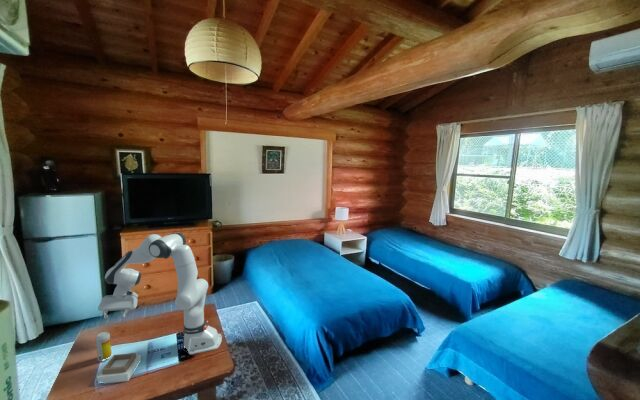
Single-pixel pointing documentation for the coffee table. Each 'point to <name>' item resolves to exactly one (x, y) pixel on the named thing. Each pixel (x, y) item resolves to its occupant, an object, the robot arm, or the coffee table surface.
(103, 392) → the coffee table surface
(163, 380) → the coffee table surface
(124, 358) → the display plinth
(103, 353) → the beer can
